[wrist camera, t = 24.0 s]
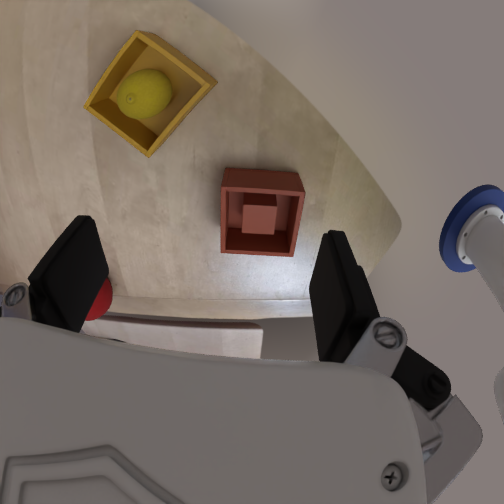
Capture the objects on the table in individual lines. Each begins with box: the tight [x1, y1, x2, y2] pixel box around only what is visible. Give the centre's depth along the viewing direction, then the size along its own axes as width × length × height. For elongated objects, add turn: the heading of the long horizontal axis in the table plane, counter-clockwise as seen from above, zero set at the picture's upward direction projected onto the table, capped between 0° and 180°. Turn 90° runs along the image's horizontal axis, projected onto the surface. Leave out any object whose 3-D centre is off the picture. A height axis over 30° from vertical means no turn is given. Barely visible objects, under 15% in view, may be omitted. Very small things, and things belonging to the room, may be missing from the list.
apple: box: [85, 278, 113, 321], centre depth 42 cm, size 9×9×10 cm
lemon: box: [117, 69, 172, 119], centre depth 23 cm, size 6×6×8 cm
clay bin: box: [221, 168, 305, 257], centre depth 34 cm, size 9×9×6 cm
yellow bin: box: [83, 30, 218, 158], centre depth 25 cm, size 10×10×6 cm
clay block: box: [242, 192, 277, 235], centre depth 35 cm, size 4×4×4 cm
